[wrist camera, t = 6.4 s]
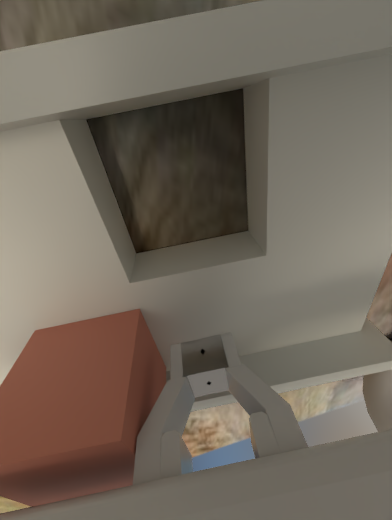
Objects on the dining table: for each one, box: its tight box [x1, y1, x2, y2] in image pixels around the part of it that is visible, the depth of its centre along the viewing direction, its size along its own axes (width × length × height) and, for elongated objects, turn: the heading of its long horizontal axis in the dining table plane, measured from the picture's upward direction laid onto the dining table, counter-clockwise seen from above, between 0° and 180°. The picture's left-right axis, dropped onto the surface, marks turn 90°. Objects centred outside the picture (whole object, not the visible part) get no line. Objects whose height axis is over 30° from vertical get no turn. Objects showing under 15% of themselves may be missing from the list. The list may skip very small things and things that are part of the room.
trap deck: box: [0, 0, 392, 412], centre depth 10 cm, size 15×38×4 cm, turn 99°
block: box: [0, 309, 166, 507], centre depth 10 cm, size 5×5×5 cm
